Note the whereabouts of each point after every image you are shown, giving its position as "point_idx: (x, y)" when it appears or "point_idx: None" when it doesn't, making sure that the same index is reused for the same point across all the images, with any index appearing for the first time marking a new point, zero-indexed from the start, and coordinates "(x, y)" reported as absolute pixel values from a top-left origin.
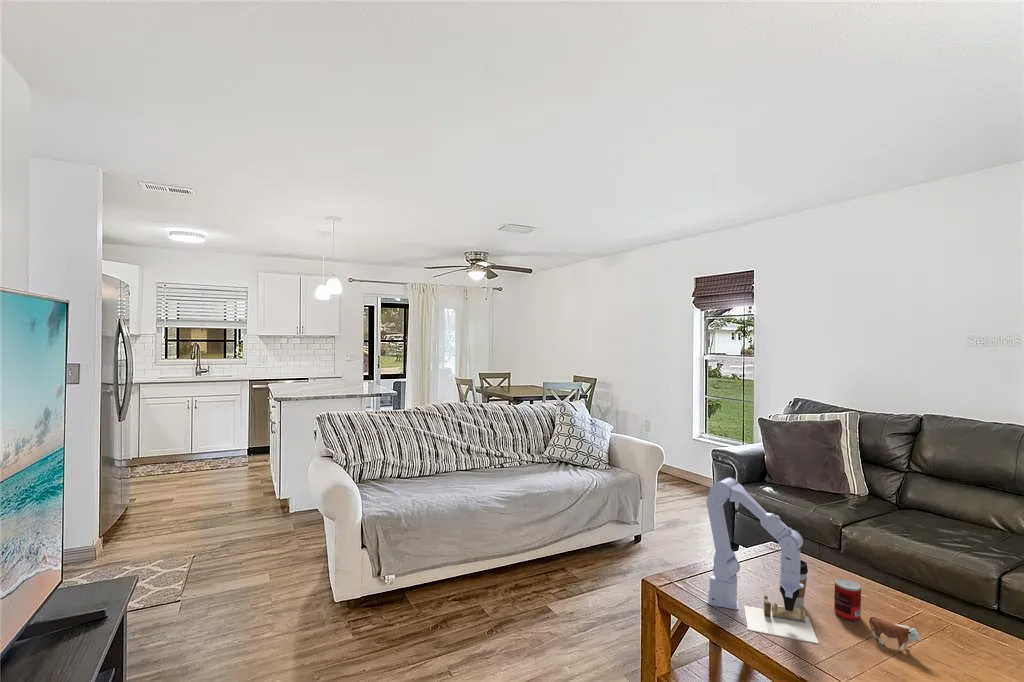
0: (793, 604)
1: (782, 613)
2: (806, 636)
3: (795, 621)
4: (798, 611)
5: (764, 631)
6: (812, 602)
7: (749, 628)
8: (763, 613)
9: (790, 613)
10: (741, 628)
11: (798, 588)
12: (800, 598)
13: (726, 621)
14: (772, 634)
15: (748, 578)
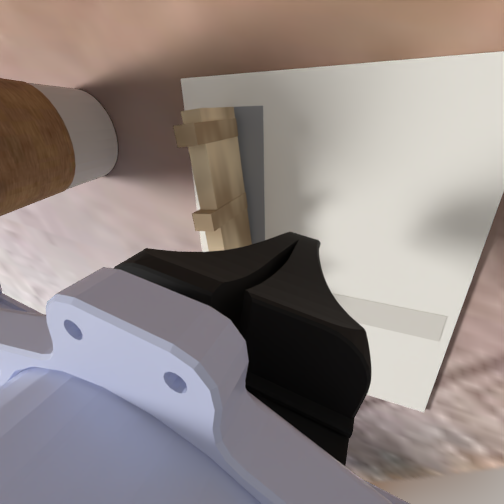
0: (318, 269)
1: (242, 237)
2: (447, 132)
3: (263, 167)
4: (216, 155)
5: (431, 355)
6: (22, 31)
7: (413, 403)
8: None
9: (234, 198)
10: (410, 423)
11: (305, 450)
12: (61, 111)
13: (362, 445)
14: (454, 327)
15: (27, 264)
